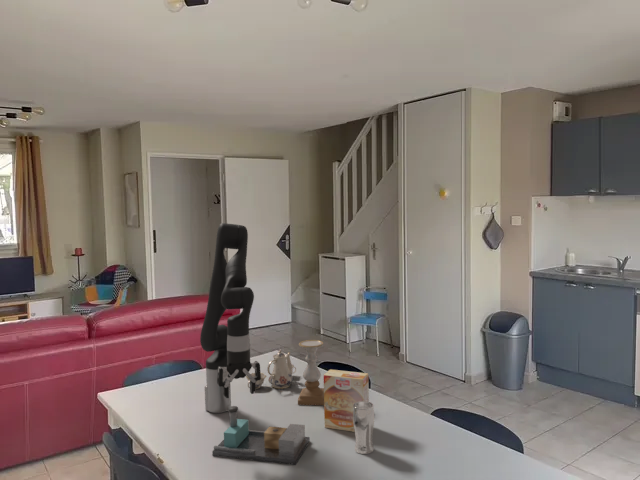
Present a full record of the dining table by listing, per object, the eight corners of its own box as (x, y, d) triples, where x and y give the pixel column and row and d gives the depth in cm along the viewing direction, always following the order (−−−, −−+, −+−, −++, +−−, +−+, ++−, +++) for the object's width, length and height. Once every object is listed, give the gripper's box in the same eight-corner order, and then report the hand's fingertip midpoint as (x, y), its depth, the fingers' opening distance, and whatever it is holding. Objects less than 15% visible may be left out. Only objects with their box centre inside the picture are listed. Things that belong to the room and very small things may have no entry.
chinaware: (283, 375, 247) (279, 341, 247) (310, 378, 237) (306, 342, 237) (241, 393, 225) (237, 355, 225) (270, 397, 215) (265, 358, 215)
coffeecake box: (324, 428, 184) (322, 374, 183) (330, 420, 191) (329, 368, 190) (364, 433, 179) (363, 379, 178) (369, 425, 185) (368, 372, 184)
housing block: (264, 447, 167) (264, 432, 167) (270, 441, 172) (269, 426, 171) (282, 449, 165) (281, 434, 165) (287, 442, 170) (286, 427, 170)
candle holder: (327, 395, 216) (325, 339, 214) (324, 405, 205) (323, 346, 203) (301, 395, 217) (299, 339, 215) (297, 405, 206) (295, 346, 205)
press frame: (212, 455, 166) (211, 436, 165) (233, 434, 181) (232, 416, 181) (295, 464, 159) (294, 444, 158) (309, 441, 174) (309, 422, 174)
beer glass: (351, 445, 170) (351, 401, 169) (372, 444, 171) (371, 400, 170) (355, 455, 163) (354, 409, 162) (376, 454, 164) (375, 408, 163)
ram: (222, 447, 167) (221, 414, 167) (236, 432, 178) (235, 401, 177) (235, 448, 166) (234, 415, 165) (248, 433, 177) (247, 402, 176)
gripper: (255, 341, 176) (256, 388, 177) (214, 347, 170) (215, 395, 171) (262, 347, 169) (263, 395, 170) (219, 353, 163) (221, 403, 164)
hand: (239, 395), depth 171 cm, fingers open, 8 cm apart
